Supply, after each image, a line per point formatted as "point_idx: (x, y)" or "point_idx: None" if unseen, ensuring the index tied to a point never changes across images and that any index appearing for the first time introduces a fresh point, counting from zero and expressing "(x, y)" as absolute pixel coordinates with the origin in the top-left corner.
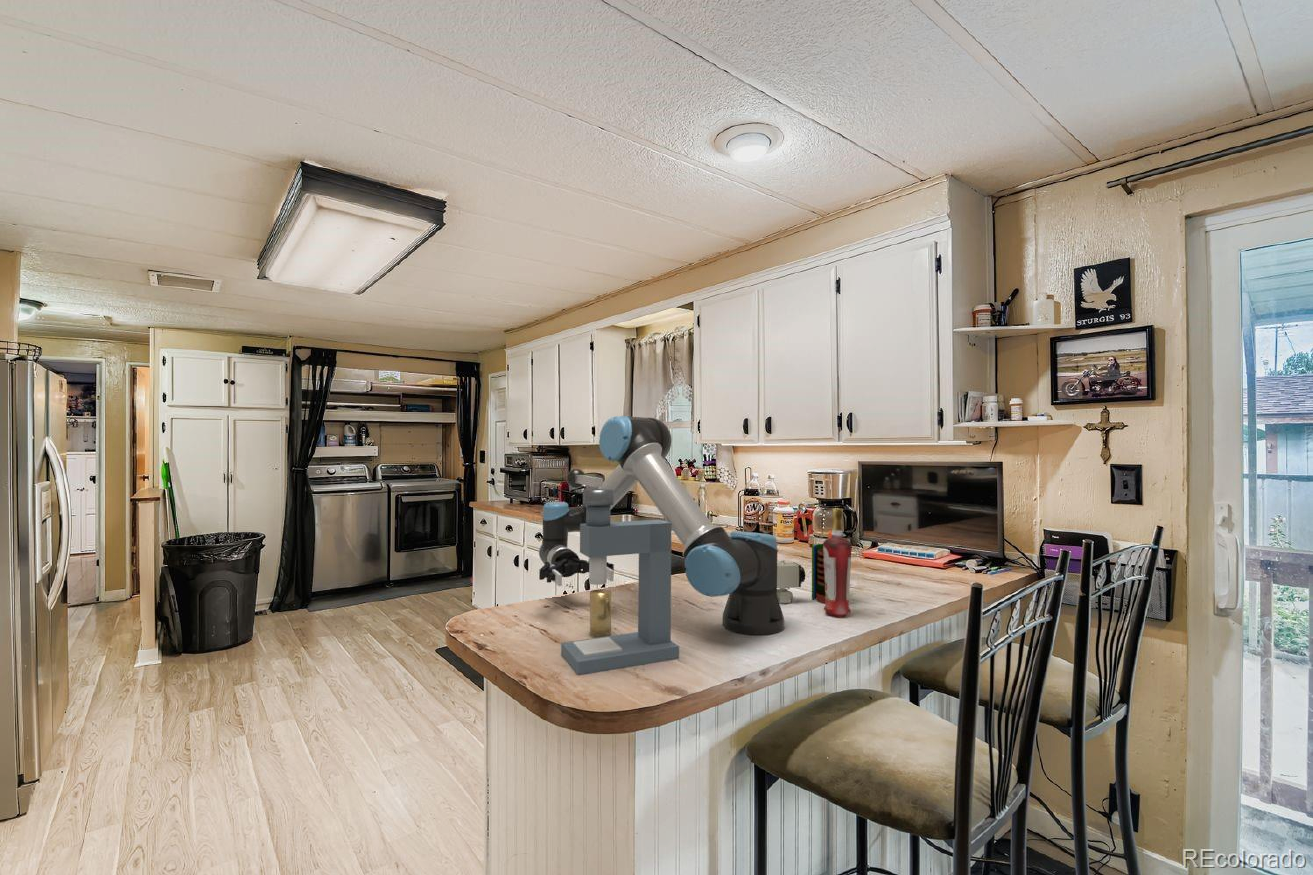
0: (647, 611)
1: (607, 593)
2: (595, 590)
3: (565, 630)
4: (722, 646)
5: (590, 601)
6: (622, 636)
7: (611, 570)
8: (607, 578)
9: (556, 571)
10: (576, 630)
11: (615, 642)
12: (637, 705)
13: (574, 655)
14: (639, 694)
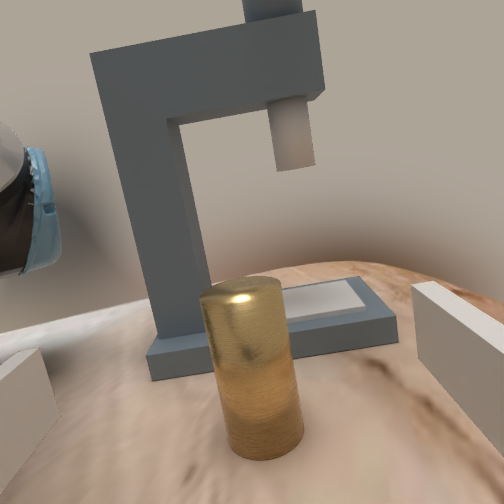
0: (202, 251)
1: (226, 282)
2: (251, 298)
3: (402, 494)
4: (68, 352)
5: (285, 314)
6: None
7: (26, 353)
8: (19, 461)
9: (491, 335)
10: (349, 485)
11: None
12: (298, 267)
13: (364, 286)
14: (288, 276)
